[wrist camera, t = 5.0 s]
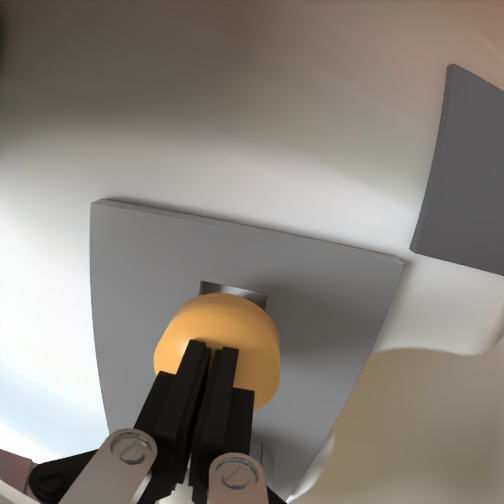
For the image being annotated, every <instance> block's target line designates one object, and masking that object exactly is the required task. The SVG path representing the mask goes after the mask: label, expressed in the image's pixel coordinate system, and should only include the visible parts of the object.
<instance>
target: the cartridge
mask: <svg viewBox="0 0 504 504" xmlns="http://www.w3.org/2000/svg"><path fill="white" fill-rule="evenodd" d="M189 470H190V469H189V468H187V471H186V475H185V479H184V483H183V485H182V484H178V483H177V485H176V488H175V491H173V490H172V492H171V495H170V496H168V497H165V498H163V499H160V502H159V504H194V502H193V501H192V492H193V487H191V486H188V481H189Z"/></svg>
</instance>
